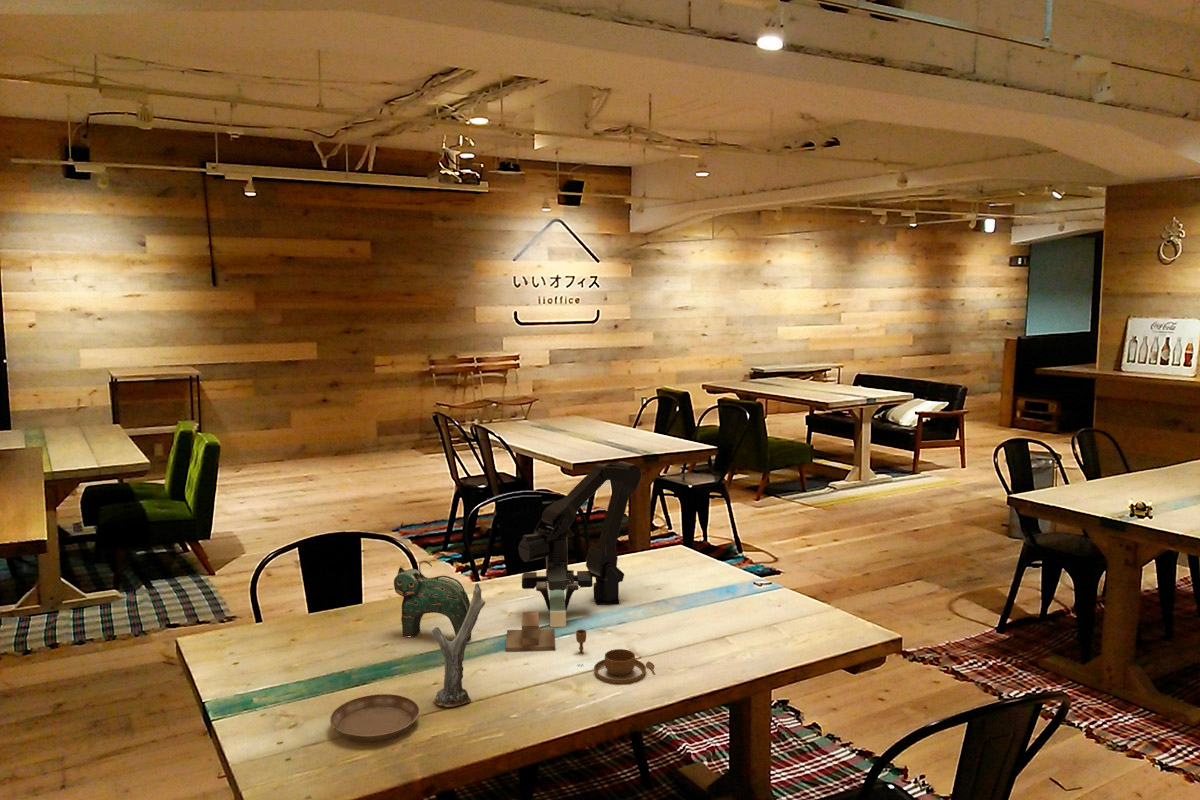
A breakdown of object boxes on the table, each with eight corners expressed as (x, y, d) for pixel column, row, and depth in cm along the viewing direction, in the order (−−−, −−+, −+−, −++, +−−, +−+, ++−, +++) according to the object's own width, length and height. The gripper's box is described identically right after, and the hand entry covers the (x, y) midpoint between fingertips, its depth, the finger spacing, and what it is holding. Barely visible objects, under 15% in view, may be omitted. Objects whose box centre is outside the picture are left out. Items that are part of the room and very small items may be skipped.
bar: (549, 601, 256) (549, 587, 255) (564, 601, 256) (564, 587, 255) (550, 627, 238) (550, 612, 237) (566, 626, 238) (565, 611, 237)
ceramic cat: (394, 637, 232) (391, 561, 229) (406, 627, 238) (404, 553, 235) (466, 646, 226) (463, 568, 223) (477, 636, 232) (475, 560, 229)
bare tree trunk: (439, 711, 193) (436, 597, 189) (428, 696, 200) (424, 586, 196) (491, 699, 198) (488, 588, 194) (478, 685, 205) (475, 577, 201)
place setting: (585, 690, 204) (585, 664, 203) (572, 652, 223) (572, 629, 222) (662, 683, 207) (662, 658, 206) (642, 647, 226) (642, 624, 225)
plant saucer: (426, 705, 196) (425, 692, 196) (412, 748, 179) (411, 734, 178) (342, 707, 196) (342, 694, 195) (320, 750, 178) (319, 736, 178)
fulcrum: (554, 632, 234) (554, 609, 233) (555, 650, 223) (554, 626, 222) (507, 633, 233) (506, 611, 233) (505, 651, 223) (505, 628, 222)
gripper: (520, 564, 236) (521, 622, 238) (593, 563, 237) (593, 620, 239) (521, 551, 247) (522, 607, 249) (591, 549, 248) (591, 605, 250)
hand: (557, 610), depth 247 cm, fingers closed on bar, 4 cm apart
